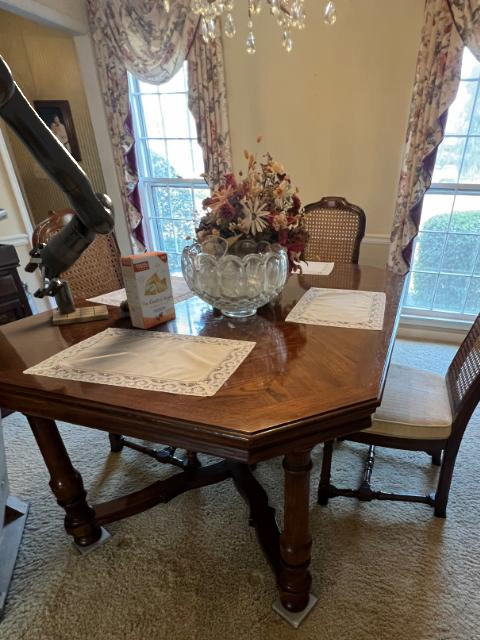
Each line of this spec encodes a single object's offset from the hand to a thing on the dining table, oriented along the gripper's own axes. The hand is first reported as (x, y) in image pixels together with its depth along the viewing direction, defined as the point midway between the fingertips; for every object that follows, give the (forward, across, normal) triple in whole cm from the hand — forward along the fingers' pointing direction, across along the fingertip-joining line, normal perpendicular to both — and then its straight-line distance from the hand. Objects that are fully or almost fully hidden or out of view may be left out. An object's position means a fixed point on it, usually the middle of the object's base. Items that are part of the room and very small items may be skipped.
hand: (32, 284), depth 109 cm
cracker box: (-16, +18, +25) cm, 34 cm away
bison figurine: (-9, +12, +26) cm, 30 cm away
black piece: (+10, 0, +16) cm, 18 cm away
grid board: (+6, +4, +18) cm, 19 cm away
